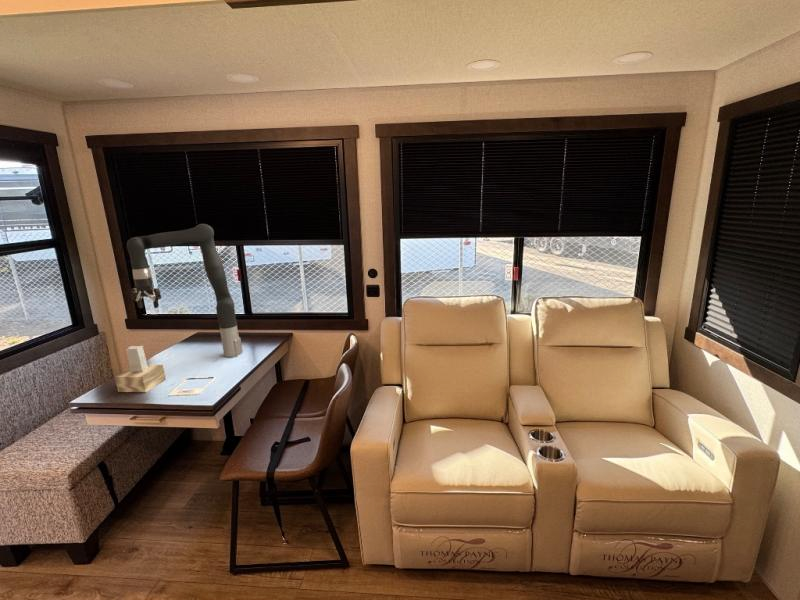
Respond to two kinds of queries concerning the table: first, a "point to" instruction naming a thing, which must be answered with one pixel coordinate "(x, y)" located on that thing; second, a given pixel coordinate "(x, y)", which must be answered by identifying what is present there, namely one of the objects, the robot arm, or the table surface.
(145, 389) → the birch block
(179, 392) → the photo frame
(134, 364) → the skincare box
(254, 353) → the table surface
